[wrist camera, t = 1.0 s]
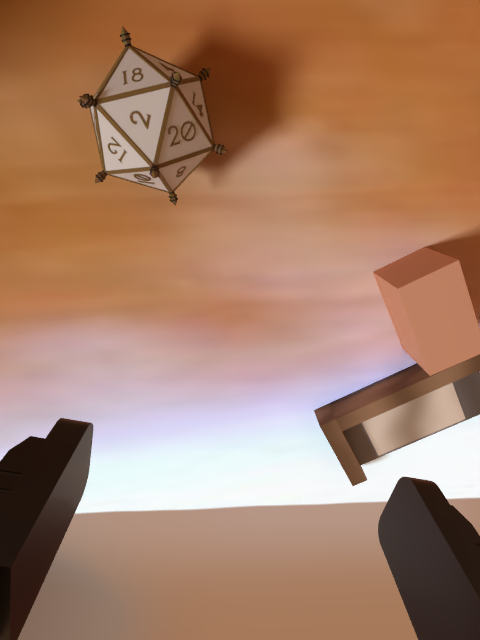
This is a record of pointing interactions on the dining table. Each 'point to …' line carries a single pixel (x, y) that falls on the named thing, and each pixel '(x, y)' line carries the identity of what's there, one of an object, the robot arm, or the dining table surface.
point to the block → (430, 309)
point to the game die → (150, 121)
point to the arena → (399, 412)
